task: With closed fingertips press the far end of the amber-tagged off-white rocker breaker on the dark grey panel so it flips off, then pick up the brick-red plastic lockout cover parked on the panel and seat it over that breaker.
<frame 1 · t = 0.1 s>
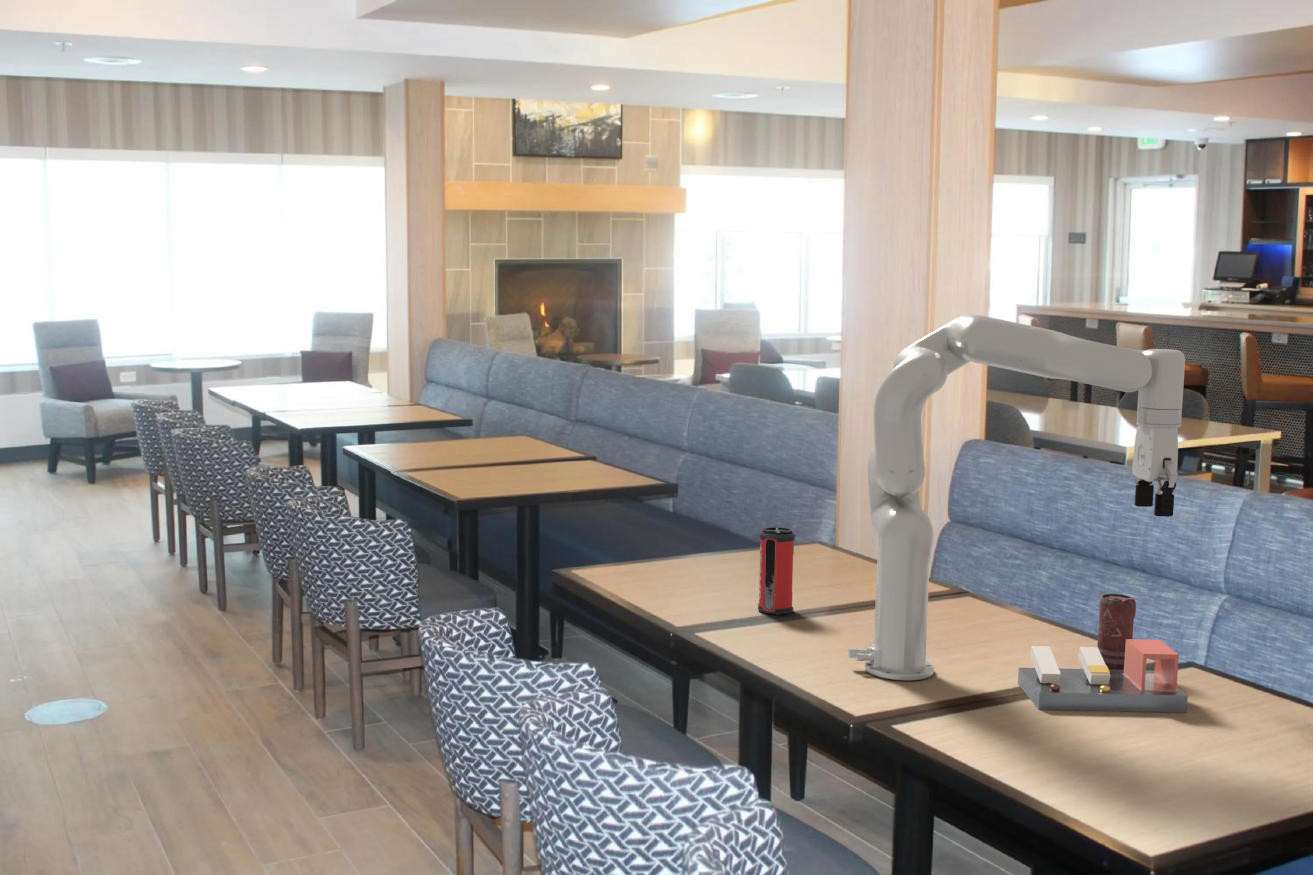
hand: (1153, 511, 237), 31 cm above the table, fingers open, 9 cm apart
can: (1113, 670, 245), on the table
panel: (1099, 697, 228), on the table
speaker: (775, 611, 283), on the table
breaker 2: (1094, 664, 228), point 6 cm above the table, hinge at 20.0°
breaker 1: (1045, 664, 228), point 5 cm above the table, hinge at 20.0°
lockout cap: (1149, 681, 227), point 3 cm above the table, touching panel
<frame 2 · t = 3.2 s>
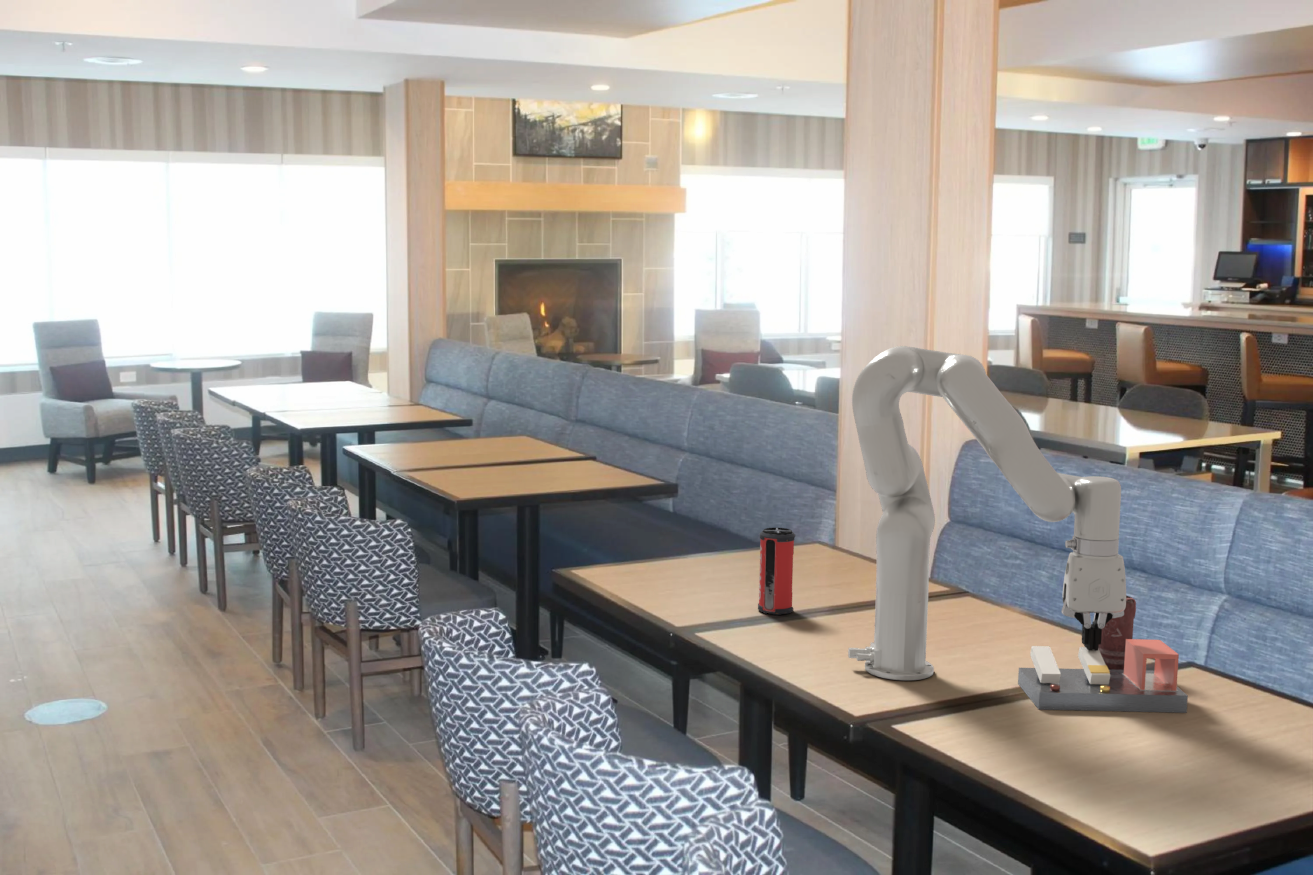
hand: (1091, 648, 231), 8 cm above the table, fingers closed
breaker 2: (1094, 664, 228), point 6 cm above the table, hinge at 19.9°, touching gripper
everything else where it was.
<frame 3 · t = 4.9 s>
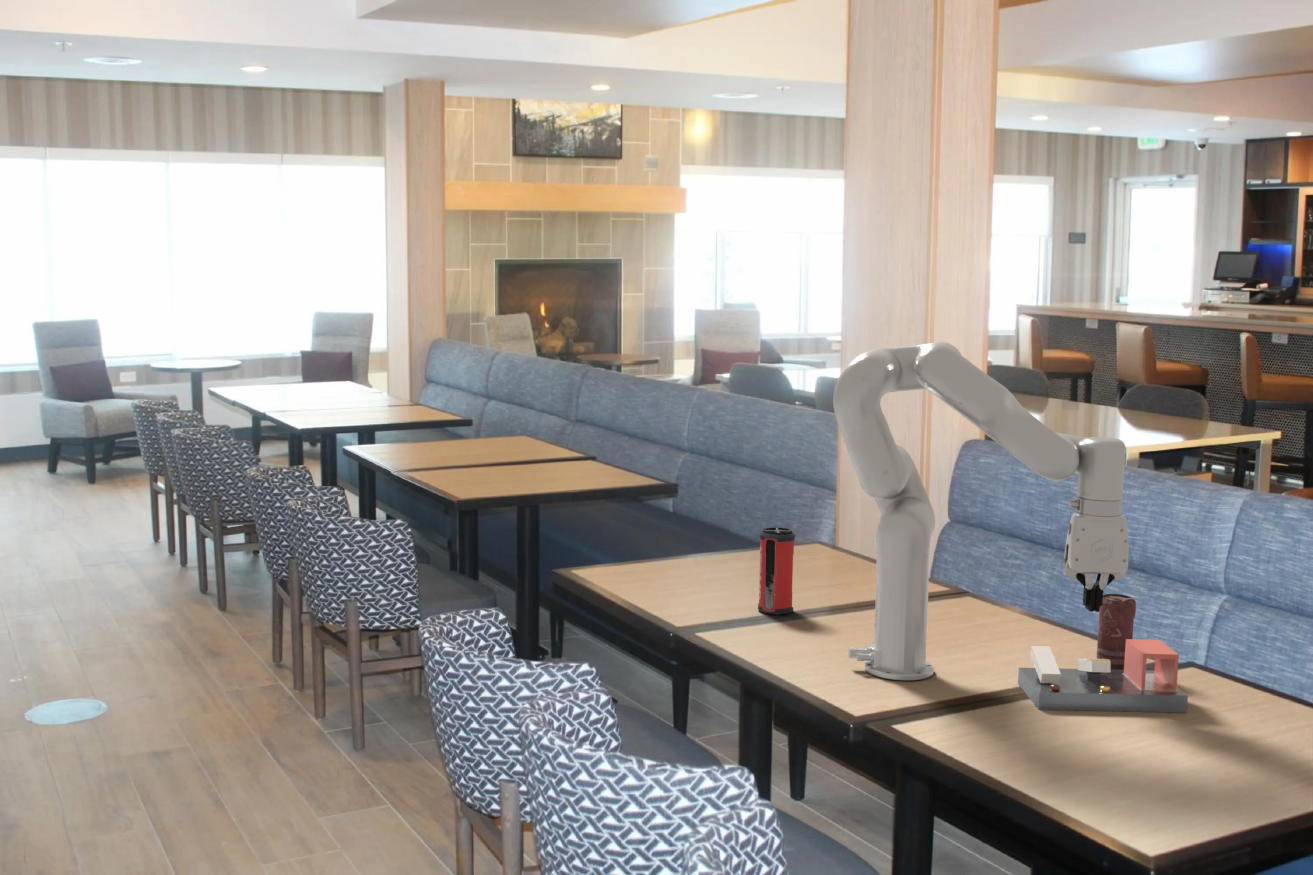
hand: (1092, 609, 230), 15 cm above the table, fingers closed
breaker 2: (1093, 664, 228), point 6 cm above the table, hinge at -14.9°
everything else where it was.
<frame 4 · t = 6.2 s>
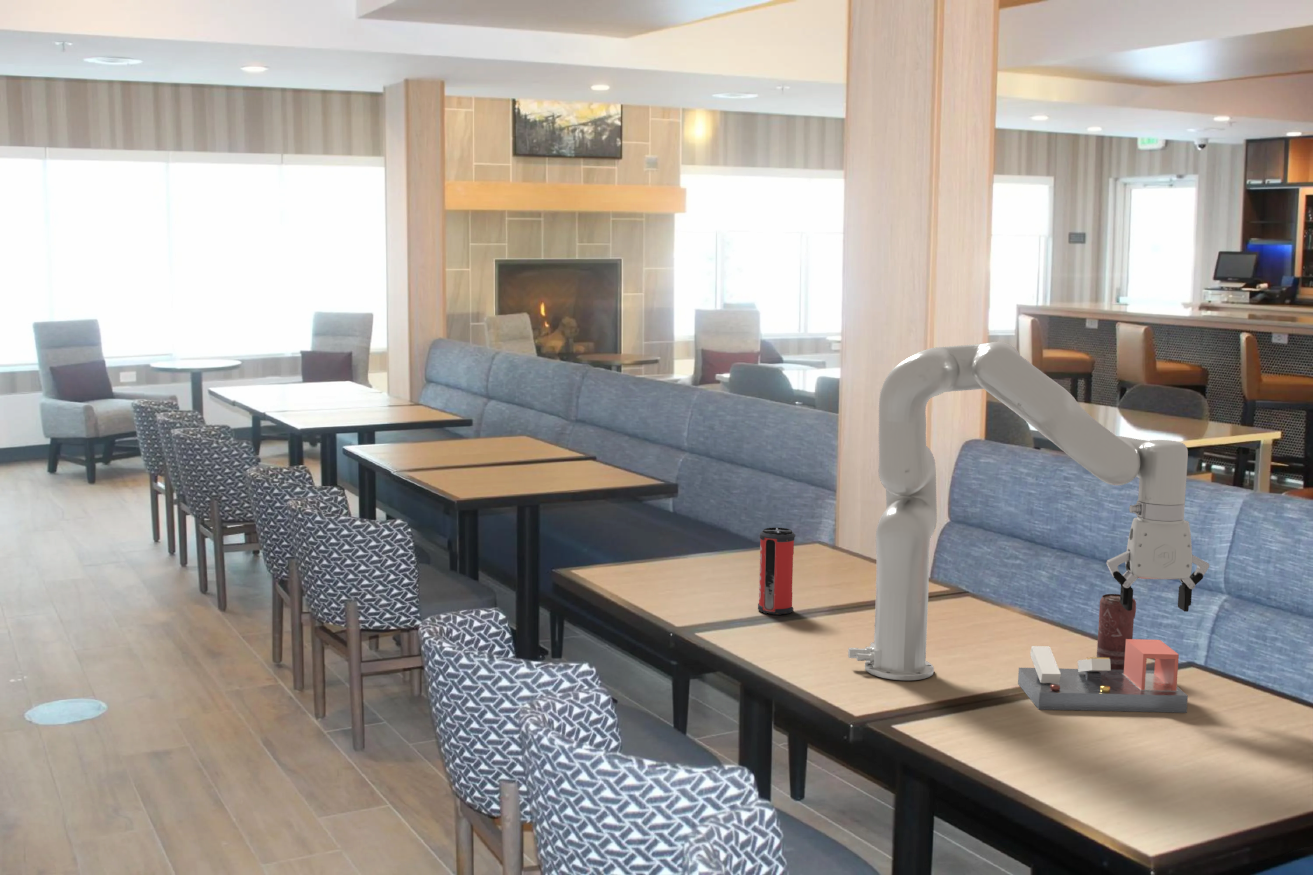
hand: (1154, 609, 226), 16 cm above the table, fingers open, 9 cm apart
breaker 2: (1093, 664, 228), point 6 cm above the table, hinge at -19.7°
everything else where it was.
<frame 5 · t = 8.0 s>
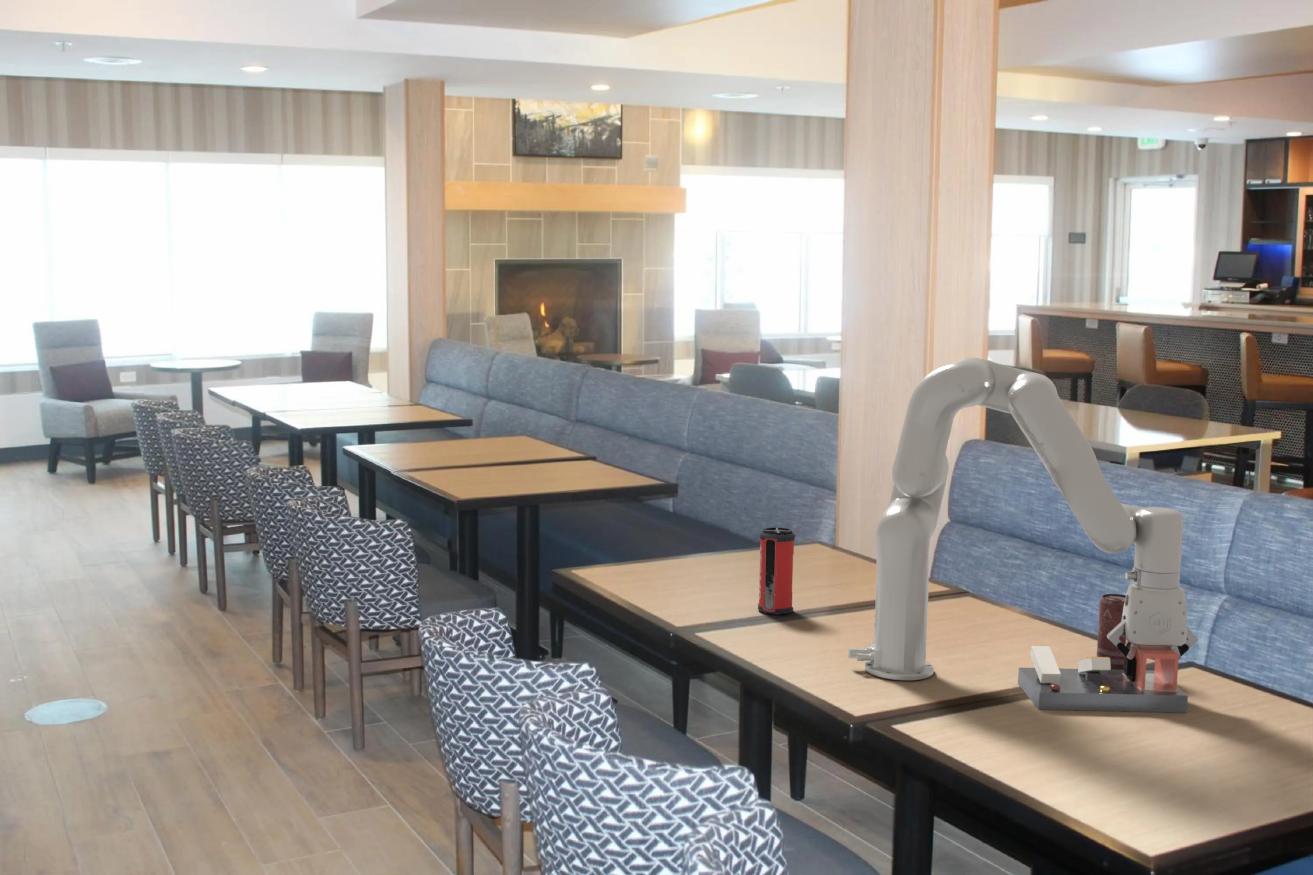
hand: (1149, 678, 227), 4 cm above the table, fingers closed on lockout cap, 6 cm apart
breaker 2: (1093, 664, 228), point 6 cm above the table, hinge at -21.1°
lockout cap: (1149, 681, 227), point 3 cm above the table, touching gripper, panel
everything else where it was.
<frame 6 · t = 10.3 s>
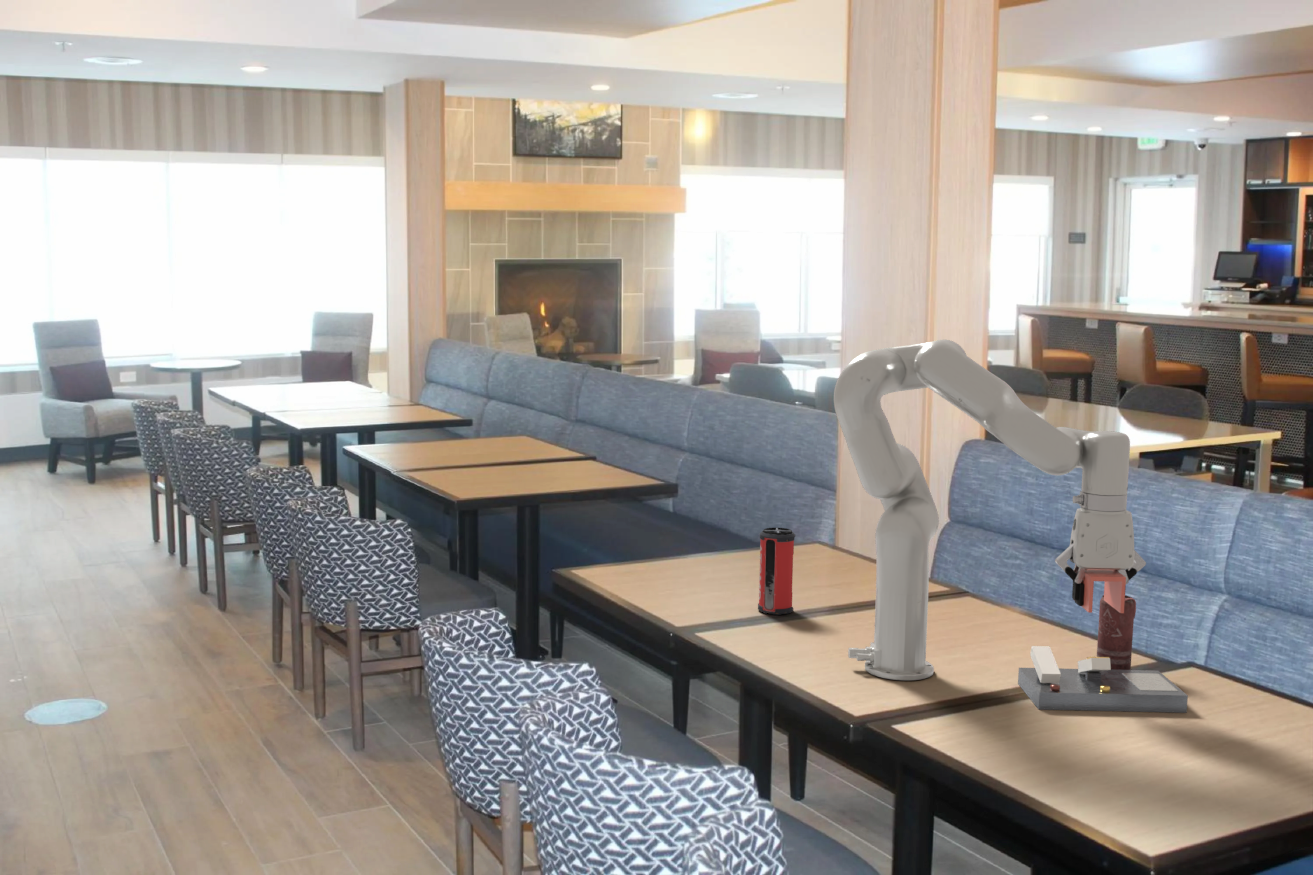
hand: (1098, 603, 227), 17 cm above the table, fingers closed on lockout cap, 6 cm apart
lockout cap: (1097, 606, 227), point 16 cm above the table, touching gripper
everything else where it was.
when the fingers open (5 cm above the table, at t = 12.7 s): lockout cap drops 2 cm, resting on panel.
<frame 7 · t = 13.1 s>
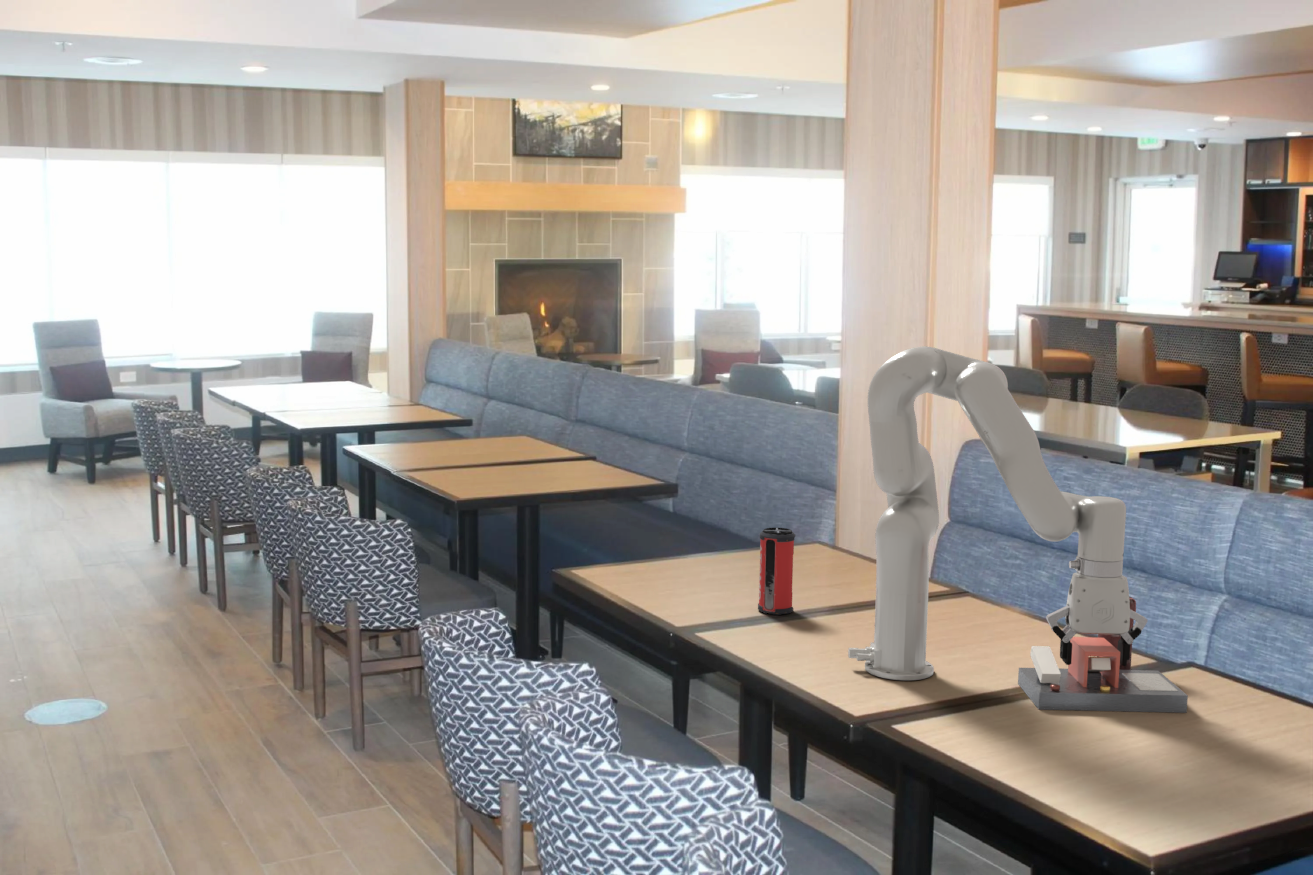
hand: (1094, 663, 228), 6 cm above the table, fingers open, 9 cm apart
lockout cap: (1092, 679, 229), point 3 cm above the table, touching panel
everything else where it was.
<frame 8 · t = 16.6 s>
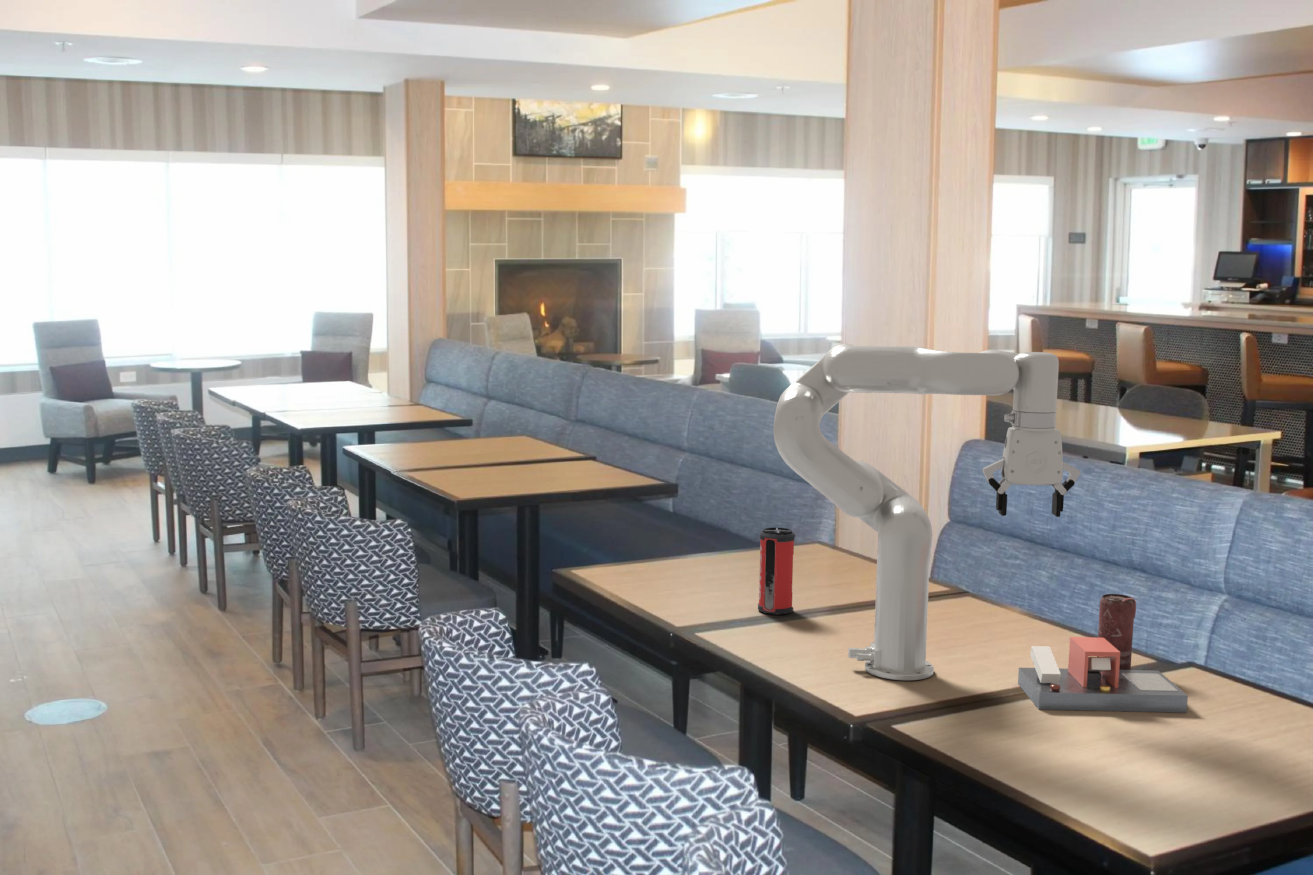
hand: (1029, 514, 235), 30 cm above the table, fingers open, 9 cm apart
nothing on the table moved.
at the end: breaker 2 at -21° (first picture: +20°); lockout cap 0.1 cm from the target spot, point 3.0 cm above the table; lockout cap tilted 0° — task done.
